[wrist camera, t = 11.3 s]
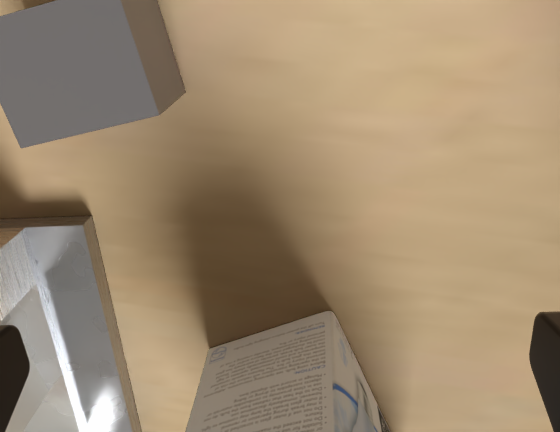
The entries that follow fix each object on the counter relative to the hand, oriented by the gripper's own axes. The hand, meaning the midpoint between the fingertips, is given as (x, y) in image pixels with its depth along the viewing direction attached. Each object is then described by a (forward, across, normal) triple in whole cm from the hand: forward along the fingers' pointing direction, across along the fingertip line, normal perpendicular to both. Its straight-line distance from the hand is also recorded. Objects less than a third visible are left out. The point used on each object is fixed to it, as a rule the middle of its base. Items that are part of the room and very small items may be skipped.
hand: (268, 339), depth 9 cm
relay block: (+13, +7, -4) cm, 15 cm away
